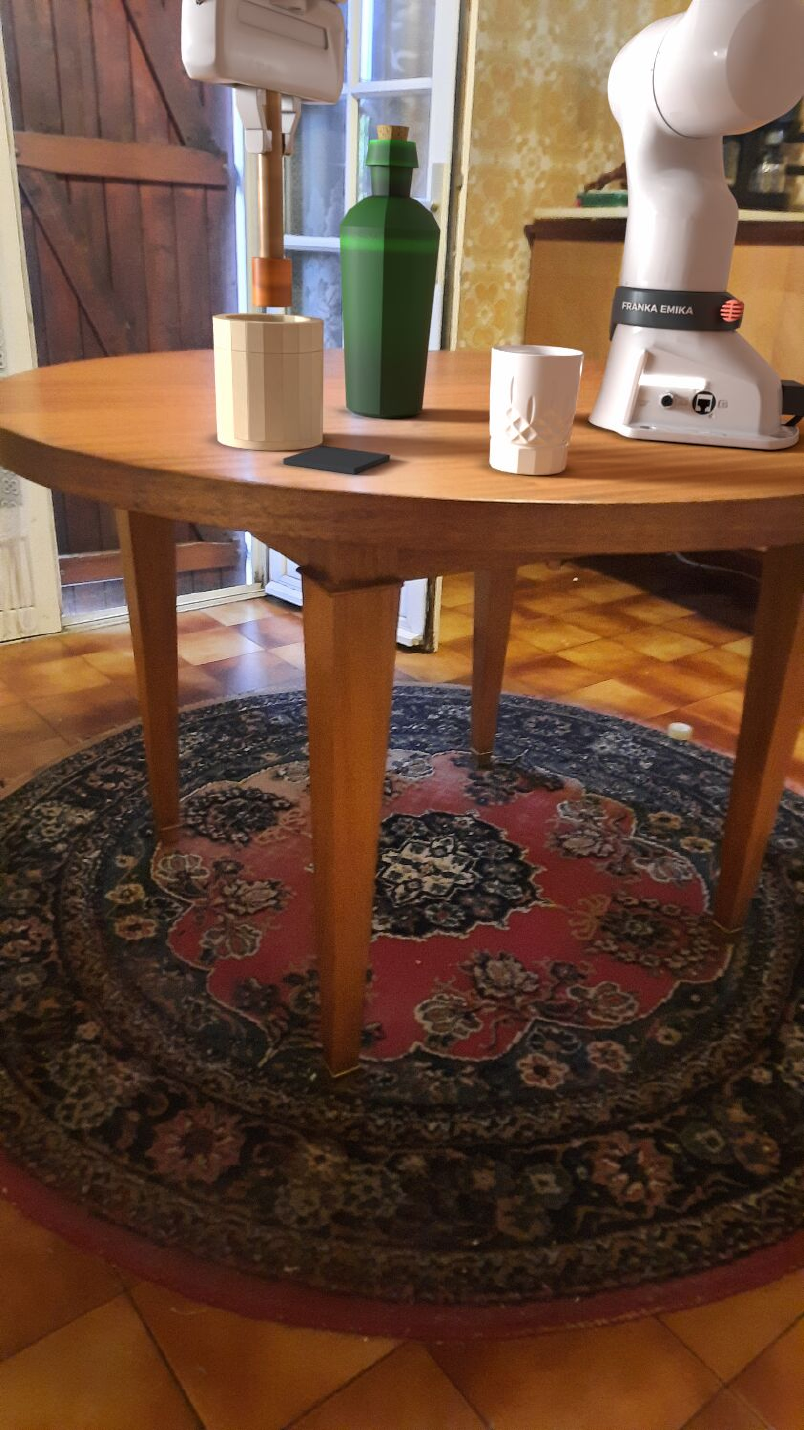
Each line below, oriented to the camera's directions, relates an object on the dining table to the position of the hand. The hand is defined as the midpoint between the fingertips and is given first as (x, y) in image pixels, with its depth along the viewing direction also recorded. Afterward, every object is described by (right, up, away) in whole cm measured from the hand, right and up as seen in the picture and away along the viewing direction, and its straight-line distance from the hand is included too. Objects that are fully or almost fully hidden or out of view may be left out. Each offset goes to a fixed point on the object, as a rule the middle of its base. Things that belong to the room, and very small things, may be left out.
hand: (270, 155), depth 88 cm
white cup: (+23, -26, +3) cm, 35 cm away
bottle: (+9, -15, +27) cm, 32 cm away
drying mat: (+6, -26, +2) cm, 27 cm away
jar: (-1, -22, +10) cm, 24 cm away
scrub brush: (0, -11, +5) cm, 12 cm away
